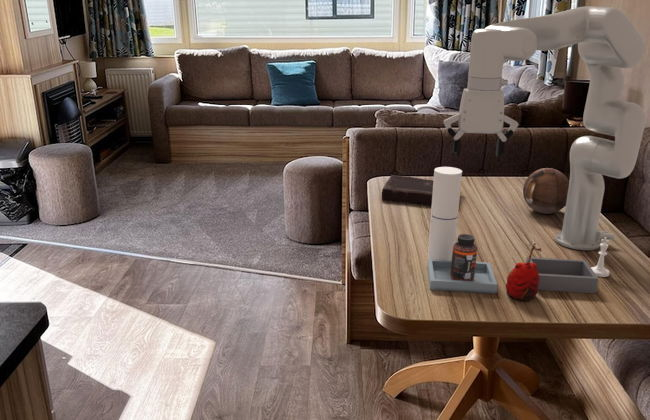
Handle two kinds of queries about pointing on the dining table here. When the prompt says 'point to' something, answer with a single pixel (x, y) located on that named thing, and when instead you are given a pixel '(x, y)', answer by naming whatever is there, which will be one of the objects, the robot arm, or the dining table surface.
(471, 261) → the supplement bottle
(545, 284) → the dock
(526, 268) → the red clay folk toy
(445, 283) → the tray
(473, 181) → the dining table surface
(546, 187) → the reflective sphere
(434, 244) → the cylindrical container
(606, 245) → the chess piece
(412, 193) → the diary
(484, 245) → the dining table surface
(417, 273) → the dining table surface
